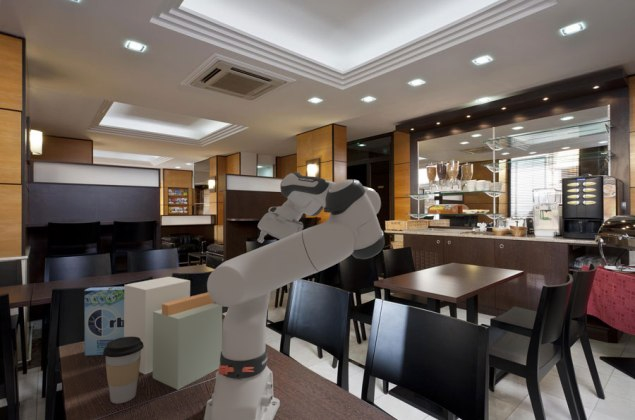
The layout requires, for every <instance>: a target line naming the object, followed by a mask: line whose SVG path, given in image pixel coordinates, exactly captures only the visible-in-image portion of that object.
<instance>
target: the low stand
mask: <svg viewBox="0 0 635 420" xmlns="http://www.w3.org/2000/svg"><path fill="white" fill-rule="evenodd" d="M222 324H223V306H220V305H218V304H216V303H215V302H214V303H211V304H207V305H204V306H200V307H197V308H194V309H190V310H187V311H183V312H180V313H177V314H173V315H170V316H166V315H163V314H162V309H161V310H158V311H154V312H153V371H152V379H153V380H156V381H158V382H160V383H161V384H164V385H167V386H169V387H171V388H172V389H175V390H176V391H178V390H180V389H182V388H184V387H186V386H189V384H192V383H194V382H195V381H198V380H199V379H202V378H204V377H205V376H207V375H209V374H211V373H213V372H215V371H216V370H217V371H218V370H219V365H220V364H219V360H220V355H221V352H222Z"/></svg>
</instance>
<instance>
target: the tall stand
mask: <svg viewBox="0 0 635 420" xmlns="http://www.w3.org/2000/svg"><path fill="white" fill-rule="evenodd" d="M187 297H191V280H188V279H184V278H178V277H174V276H165V277H158V278H154V279H148V280H144V281H138V282H132V283H127V284H124V337H139V338H140V339H141V341H142V342H143V345H144V347H143V349H141V355H140V356H141V360H140V369H139V373H140V374H143V375H147V374H149V373H151V372H152V373H153V312H154V311H158V310H161V309H162V304H164V303H168V302H172V301H176V300H179V299H183V298H187Z"/></svg>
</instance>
